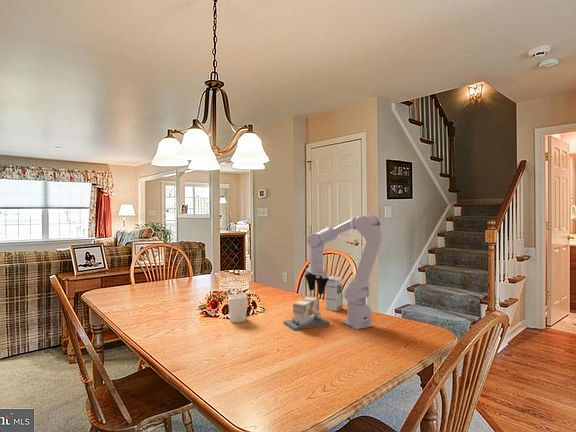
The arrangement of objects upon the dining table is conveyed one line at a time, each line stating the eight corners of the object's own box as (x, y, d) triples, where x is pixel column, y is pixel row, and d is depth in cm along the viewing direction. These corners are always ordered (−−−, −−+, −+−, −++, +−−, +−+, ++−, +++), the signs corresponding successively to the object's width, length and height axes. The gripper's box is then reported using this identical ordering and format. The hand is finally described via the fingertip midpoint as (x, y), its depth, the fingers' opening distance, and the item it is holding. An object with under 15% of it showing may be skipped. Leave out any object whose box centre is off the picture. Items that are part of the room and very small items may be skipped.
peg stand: (317, 318, 154) (317, 308, 154) (329, 324, 146) (329, 314, 146) (283, 323, 147) (283, 313, 147) (294, 330, 139) (294, 320, 139)
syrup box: (336, 311, 164) (336, 279, 163) (325, 309, 167) (325, 277, 167) (342, 308, 168) (342, 277, 168) (331, 306, 172) (331, 275, 172)
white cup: (224, 321, 150) (224, 297, 149) (235, 316, 157) (235, 293, 156) (240, 324, 146) (240, 299, 146) (251, 318, 153) (251, 295, 153)
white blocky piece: (303, 319, 139) (303, 305, 139) (293, 317, 141) (293, 303, 141) (318, 310, 151) (319, 297, 151) (309, 309, 153) (309, 296, 153)
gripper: (333, 262, 154) (333, 294, 154) (315, 258, 166) (315, 287, 167) (319, 263, 150) (319, 296, 151) (302, 259, 163) (302, 289, 164)
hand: (316, 292), depth 159 cm, fingers open, 7 cm apart
